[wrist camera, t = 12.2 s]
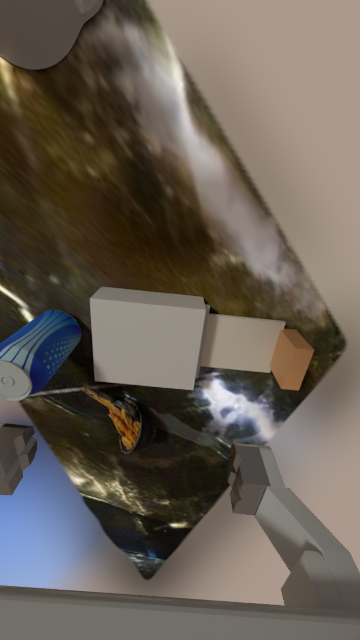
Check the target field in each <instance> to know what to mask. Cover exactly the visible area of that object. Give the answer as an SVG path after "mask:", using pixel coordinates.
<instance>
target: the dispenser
mask: <svg viewBox="0 0 360 640" xmlns="http://www.w3.org/2000/svg"><path fill="white" fill-rule="evenodd" d="M90 308H91V325H92V342H93V358H94V375H95V381H100V382H111V383H122V384H133V385H144V386H154V387H165V388H176V389H187V390H193V389H194V382H195V378H198V377H199V371H200V364H201V358H202V352H203V346H204V340H205V334H206V328H207V322H208V316H209V310H210V305H206V304H205V303H204V298H203V297H198V296H188V295H178V294H168V293H158V292H148V291H139V290H129V289H119V288H109V287H101V288H100V289H99V290H98V291H97V292H96V293H95V294H94V295H93V296H92V297H91V298H90Z"/></svg>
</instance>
